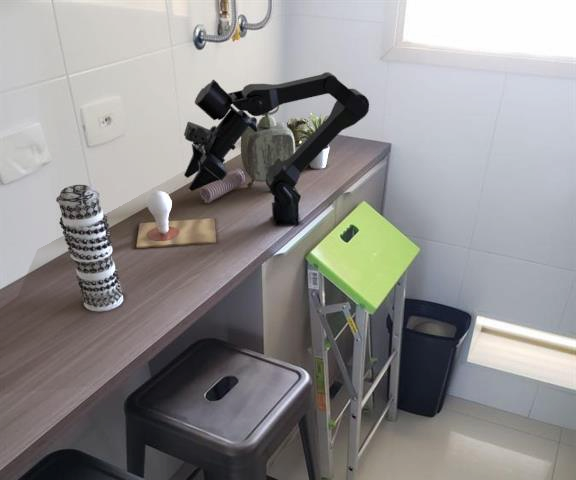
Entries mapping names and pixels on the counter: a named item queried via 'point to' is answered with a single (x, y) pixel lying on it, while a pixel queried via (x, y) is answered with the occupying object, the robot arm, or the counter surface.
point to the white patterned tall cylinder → (90, 247)
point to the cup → (296, 124)
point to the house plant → (322, 157)
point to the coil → (222, 186)
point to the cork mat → (177, 233)
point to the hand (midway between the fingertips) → (188, 183)
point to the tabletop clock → (265, 146)
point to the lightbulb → (160, 209)
